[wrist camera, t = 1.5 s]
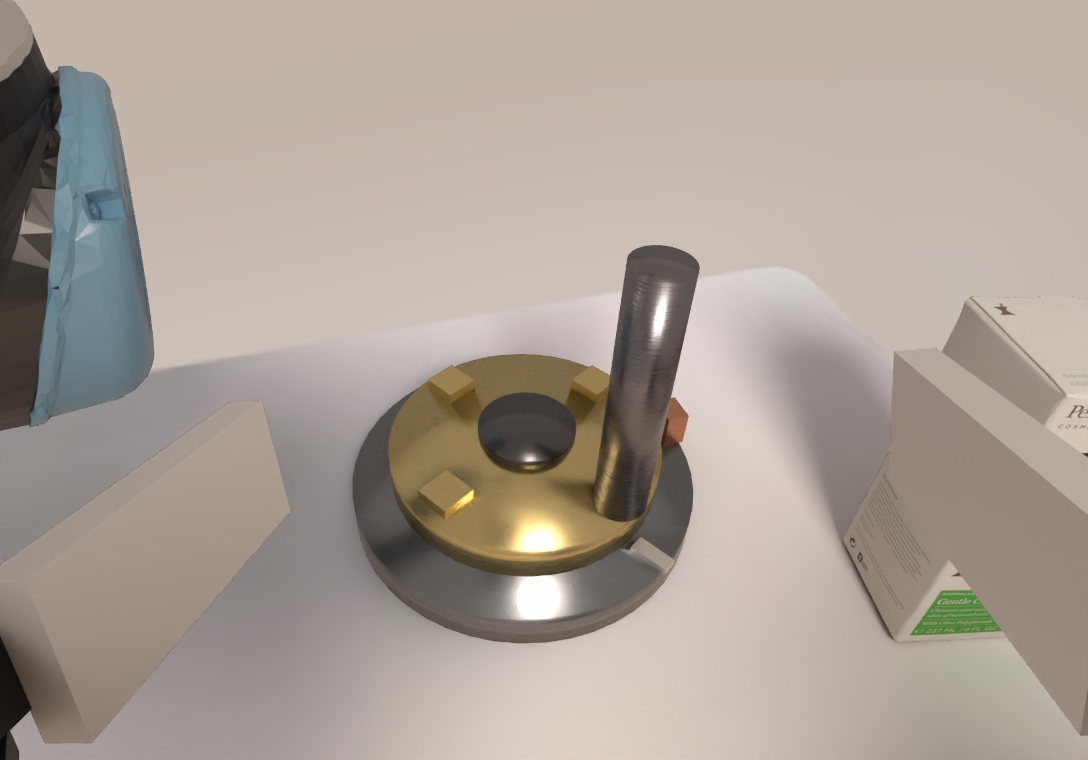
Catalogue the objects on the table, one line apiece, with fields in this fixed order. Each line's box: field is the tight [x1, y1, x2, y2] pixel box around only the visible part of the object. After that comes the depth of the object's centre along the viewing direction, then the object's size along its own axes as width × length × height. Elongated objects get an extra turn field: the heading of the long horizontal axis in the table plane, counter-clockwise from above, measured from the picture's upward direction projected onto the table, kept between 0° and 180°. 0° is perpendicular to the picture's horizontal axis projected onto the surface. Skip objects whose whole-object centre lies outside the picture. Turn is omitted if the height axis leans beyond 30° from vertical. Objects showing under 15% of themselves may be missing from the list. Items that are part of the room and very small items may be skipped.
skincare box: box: [843, 295, 1088, 642], centre depth 32 cm, size 8×7×16 cm
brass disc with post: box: [388, 245, 699, 577], centre depth 33 cm, size 14×14×15 cm
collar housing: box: [353, 388, 693, 643], centre depth 38 cm, size 18×18×5 cm
